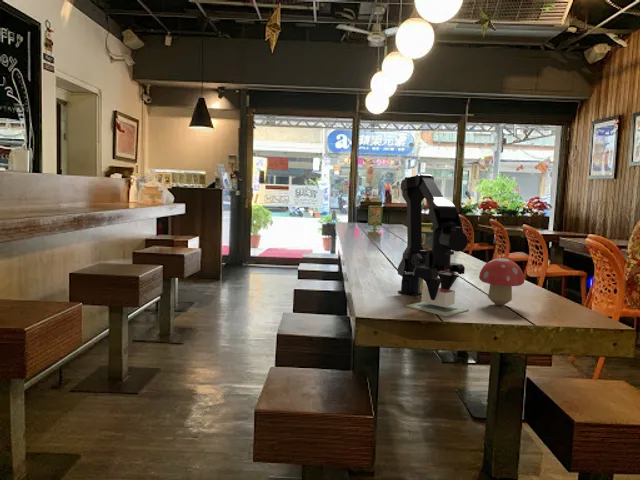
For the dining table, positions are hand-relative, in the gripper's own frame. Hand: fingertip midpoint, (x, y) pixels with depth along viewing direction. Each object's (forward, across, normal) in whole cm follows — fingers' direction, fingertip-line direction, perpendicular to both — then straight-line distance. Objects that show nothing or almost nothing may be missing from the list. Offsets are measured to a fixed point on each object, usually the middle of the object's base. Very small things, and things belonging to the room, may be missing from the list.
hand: (437, 298), depth 149 cm
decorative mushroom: (+3, -21, +9) cm, 23 cm away
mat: (+3, 0, 0) cm, 3 cm away
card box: (+1, 0, 0) cm, 1 cm away
